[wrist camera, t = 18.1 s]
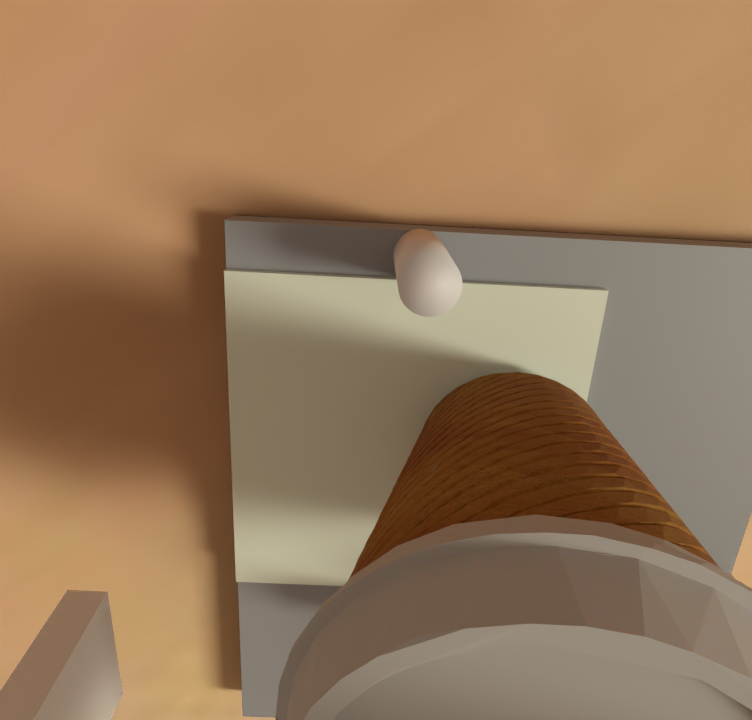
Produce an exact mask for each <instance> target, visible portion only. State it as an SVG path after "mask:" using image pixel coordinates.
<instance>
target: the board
mask: <svg viewBox="0 0 752 720" xmlns="http://www.w3.org/2000/svg"><path fill="white" fill-rule="evenodd" d="M224 224H225V251H226V269H225V270H224V286H225V312H226V338H227V364H228V390H229V416H230V441H231V467H232V493H233V519H234V545H235V571H236V582H238V600H239V627H240V654H241V681H242V708H243V716H250V717H275V715H276V707H277V698H278V689H279V683H280V680H281V677H282V674H283V671H284V668H285V665H286V662H287V660H288V657H289V654H290V652H291V649H292V647H293V645H294V643H295V641H296V640H297V639H298V637H299V636H300V635H301V633H302V632H303V630H304V629H305V628H306V626H307V625H308V624H309V622H310V621H311V620H312V618H313V617H314V615H315V614H316V613H317V611H318V610H319V609H320V607H321V606H322V605H323V603H324V602H325V601H326V600H327V599H328V598H329V597H330V596H332V595H333V594H334V593H335V592H336V591H338V590H339V589H340V588H341V587H342V586H344V585H345V584H346V582H347V581H348V579H349V577H350V576H351V574H352V572H353V570H354V568H355V565H356V563H357V560H358V558H359V556H360V554H361V553H362V551H363V549H364V547H365V544H366V542H367V540H368V538H369V536H370V534H371V533H372V531H373V529H374V527H375V525H376V523H377V521H378V518H379V516H380V513H381V512H382V510H383V508H384V506H385V504H386V502H387V500H388V498H389V496H390V494H391V492H392V489H393V487H394V485H395V484H396V481H397V479H398V477H399V475H400V473H401V471H402V470H403V467H404V465H405V463H406V462H407V459H408V457H409V455H410V453H411V451H412V449H413V447H414V445H415V443H416V441H417V439H418V437H419V435H420V433H421V431H422V429H423V427H424V424H425V421H426V420H427V418H428V417H429V415H430V414H431V412H432V410H433V409H434V407H435V406H436V405H437V404H438V403H439V402H440V401H441V400H442V399H443V398H444V397H445V396H446V395H448V394H449V393H451V392H452V391H453V390H455V389H456V388H457V387H459V386H461V385H463V384H465V383H467V382H470V381H472V380H474V379H476V378H478V377H482V376H486V375H490V374H495V373H510V372H522V373H529V374H536V375H540V376H543V377H546V378H549V379H552V380H555V381H557V382H559V383H561V384H563V385H564V386H566V387H568V388H570V389H572V390H573V391H574V392H576V393H577V394H578V395H579V396H580V397H582V398H583V399H584V400H585V401H586V402H587V403H588V404H589V405H590V407H591V408H592V409H593V411H594V412H595V413H596V414H597V416H598V417H599V418H600V420H601V421H602V422H603V424H604V425H605V426H606V427H607V429H608V430H609V431H610V432H611V433H612V435H613V436H614V437H615V438H616V440H617V441H618V442H619V443H620V445H621V446H622V447H623V448H624V449H625V451H626V452H627V453H628V454H629V456H630V457H631V458H632V459H633V461H634V462H635V463H636V464H637V465H638V467H639V468H640V469H641V470H642V472H643V473H644V474H645V475H646V476H647V478H648V479H649V481H650V482H651V483H652V484H653V485H654V487H655V488H656V489H657V491H658V492H659V493H660V494H661V495H662V497H663V498H664V499H665V500H666V501H667V503H668V504H669V505H670V506H671V508H672V509H673V510H674V511H675V513H676V514H677V515H678V516H679V517H680V519H681V520H682V521H683V522H684V524H685V525H686V526H687V528H688V529H689V530H690V531H691V532H692V534H693V535H694V536H695V537H696V539H697V540H698V541H699V542H700V544H701V545H702V546H703V547H704V549H705V550H706V551H707V552H708V553H709V555H710V556H711V557H712V559H713V560H714V561H715V562H716V563H717V565H718V566H719V567H720V568H721V570H723V571H724V572H725V573H732V570H733V567H734V563H735V560H736V557H737V554H738V551H739V548H740V545H741V542H742V539H743V536H744V533H745V530H746V527H747V524H748V521H749V518H750V515H751V512H752V243H745V242H727V241H708V240H689V239H671V238H652V237H633V236H615V235H596V234H577V233H559V232H540V231H522V230H503V229H484V228H466V227H447V226H428V225H410V224H391V223H372V222H354V221H335V220H316V219H298V218H279V217H261V216H242V215H232V216H231V217H229V218H227V219H225V220H224Z"/></svg>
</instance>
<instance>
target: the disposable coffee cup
mask: <svg viewBox="0 0 752 720" xmlns="http://www.w3.org/2000/svg"><path fill="white" fill-rule="evenodd" d="M275 717H276V720H752V589H751V588H750V587H748V586H746V585H745V584H743V583H741V582H739V581H738V580H736V579H734V578H733V577H731V576H729V575H728V574H726V573H725V572H724V571H723V570H721V568H720V567H719V566H718V565H717V563H716V562H715V561H714V560H713V559H712V557H711V556H710V555H709V553H708V552H707V551H706V550H705V549H704V547H703V546H702V545H701V544H700V542H699V541H698V540H697V539H696V537H695V536H694V535H693V534H692V532H691V531H690V530H689V529H688V528H687V526H686V525H685V524H684V522H683V521H682V520H681V519H680V517H679V516H678V515H677V514H676V513H675V511H674V510H673V509H672V508H671V506H670V505H669V504H668V503H667V501H666V500H665V499H664V498H663V497H662V495H661V494H660V493H659V492H658V491H657V489H656V488H655V487H654V485H653V484H652V483H651V482H650V481H649V479H648V478H647V476H646V475H645V474H644V473H643V472H642V470H641V469H640V468H639V467H638V465H637V464H636V463H635V462H634V461H633V459H632V458H631V457H630V456H629V454H628V453H627V452H626V451H625V449H624V448H623V447H622V446H621V445H620V443H619V442H618V441H617V440H616V438H615V437H614V436H613V435H612V433H611V432H610V431H609V430H608V429H607V427H606V426H605V425H604V424H603V422H602V421H601V420H600V418H599V417H598V416H597V414H596V413H595V412H594V411H593V409H592V408H591V407H590V405H589V404H588V403H587V402H586V401H585V400H584V399H583V398H582V397H580V396H579V395H578V394H577V393H576V392H574V391H573V390H572V389H570V388H568V387H566V386H564V385H563V384H561V383H559V382H557V381H555V380H552V379H549V378H546V377H543V376H540V375H536V374H529V373H522V372H510V373H495V374H490V375H486V376H482V377H478V378H476V379H474V380H472V381H470V382H467V383H465V384H463V385H461V386H459V387H457V388H456V389H455V390H453V391H452V392H451V393H449V394H448V395H446V396H445V397H444V398H443V399H442V400H441V401H440V402H439V403H438V404H437V405H436V406H435V407H434V409H433V410H432V412H431V414H430V415H429V417H428V418H427V420H426V421H425V424H424V427H423V429H422V431H421V433H420V435H419V437H418V439H417V441H416V443H415V445H414V447H413V449H412V451H411V453H410V455H409V457H408V459H407V462H406V463H405V465H404V467H403V470H402V471H401V473H400V475H399V477H398V479H397V481H396V484H395V485H394V487H393V489H392V492H391V494H390V496H389V498H388V500H387V502H386V504H385V506H384V508H383V510H382V512H381V513H380V516H379V518H378V521H377V523H376V525H375V527H374V529H373V531H372V533H371V534H370V536H369V538H368V540H367V542H366V544H365V547H364V549H363V551H362V553H361V554H360V556H359V558H358V560H357V563H356V565H355V568H354V570H353V572H352V574H351V576H350V577H349V579H348V581H347V582H346V584H345V585H344V586H342V587H341V588H340V589H339V590H338V591H336V592H335V593H334V594H333V595H332V596H330V597H329V598H328V599H327V600H326V601H325V602H324V603H323V605H322V606H321V607H320V609H319V610H318V611H317V613H316V614H315V615H314V617H313V618H312V620H311V621H310V622H309V624H308V625H307V626H306V628H305V629H304V630H303V632H302V633H301V635H300V636H299V637H298V639H297V640H296V641H295V643H294V645H293V647H292V649H291V652H290V654H289V657H288V660H287V662H286V665H285V668H284V671H283V674H282V677H281V680H280V683H279V689H278V698H277V707H276V715H275Z"/></svg>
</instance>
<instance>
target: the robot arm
mask: <svg viewBox="0 0 752 720" xmlns="http://www.w3.org/2000/svg"><path fill="white" fill-rule="evenodd" d="M122 694H123V693H122V686H121V679H120V673H119V666H118V660H117V653H116V646H115V640H114V633H113V626H112V620H111V613H110V607H109V600H108V593H107V592H98V591H77V590H67V592H66V593H65V595H64V596H63V598H62V599H61V601H60V602H59V604H58V605H57V607H56V608H55V610H54V611H53V613H52V614H51V616H50V617H49V619H48V620H47V622H46V623H45V625H44V626H43V628H42V629H41V631H40V632H39V634H38V635H37V637H36V638H35V640H34V641H33V643H32V644H31V646H30V647H29V649H28V650H27V652H26V653H25V655H24V656H23V658H22V659H21V661H20V662H19V664H18V665H17V667H16V668H15V670H14V671H13V673H12V674H11V676H10V677H9V679H8V680H7V682H6V684H5V685H4V687H3V688H2V690H1V691H0V720H111V718H112V716H113V714H114V711H115V709H116V707H117V705H118V703H119V700H120V698H121V696H122Z"/></svg>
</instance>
